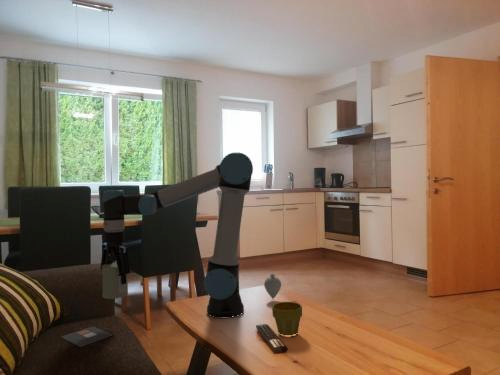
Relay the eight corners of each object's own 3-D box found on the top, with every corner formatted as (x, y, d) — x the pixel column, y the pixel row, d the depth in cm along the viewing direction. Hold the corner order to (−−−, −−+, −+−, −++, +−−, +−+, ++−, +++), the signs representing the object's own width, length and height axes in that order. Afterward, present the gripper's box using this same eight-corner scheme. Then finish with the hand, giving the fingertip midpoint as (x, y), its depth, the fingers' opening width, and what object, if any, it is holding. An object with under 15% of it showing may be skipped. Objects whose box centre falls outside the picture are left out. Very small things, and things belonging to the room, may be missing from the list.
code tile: (113, 335, 132) (113, 334, 132) (80, 347, 123) (80, 346, 123) (93, 326, 141) (93, 326, 141) (60, 337, 132) (60, 336, 132)
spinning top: (276, 304, 163) (276, 276, 163) (261, 301, 167) (260, 274, 167) (284, 299, 170) (283, 272, 170) (269, 296, 174) (269, 271, 174)
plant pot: (267, 331, 133) (266, 304, 133) (291, 326, 137) (291, 299, 137) (283, 342, 123) (282, 312, 123) (308, 336, 128) (308, 307, 128)
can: (119, 299, 136) (119, 266, 136) (97, 298, 138) (96, 265, 138) (132, 292, 145) (132, 261, 145) (111, 291, 147) (110, 260, 147)
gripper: (90, 230, 146) (91, 288, 146) (121, 233, 132) (122, 297, 132) (107, 228, 151) (108, 283, 152) (139, 231, 138) (140, 292, 138)
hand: (115, 290), depth 142 cm, fingers closed on can, 9 cm apart
